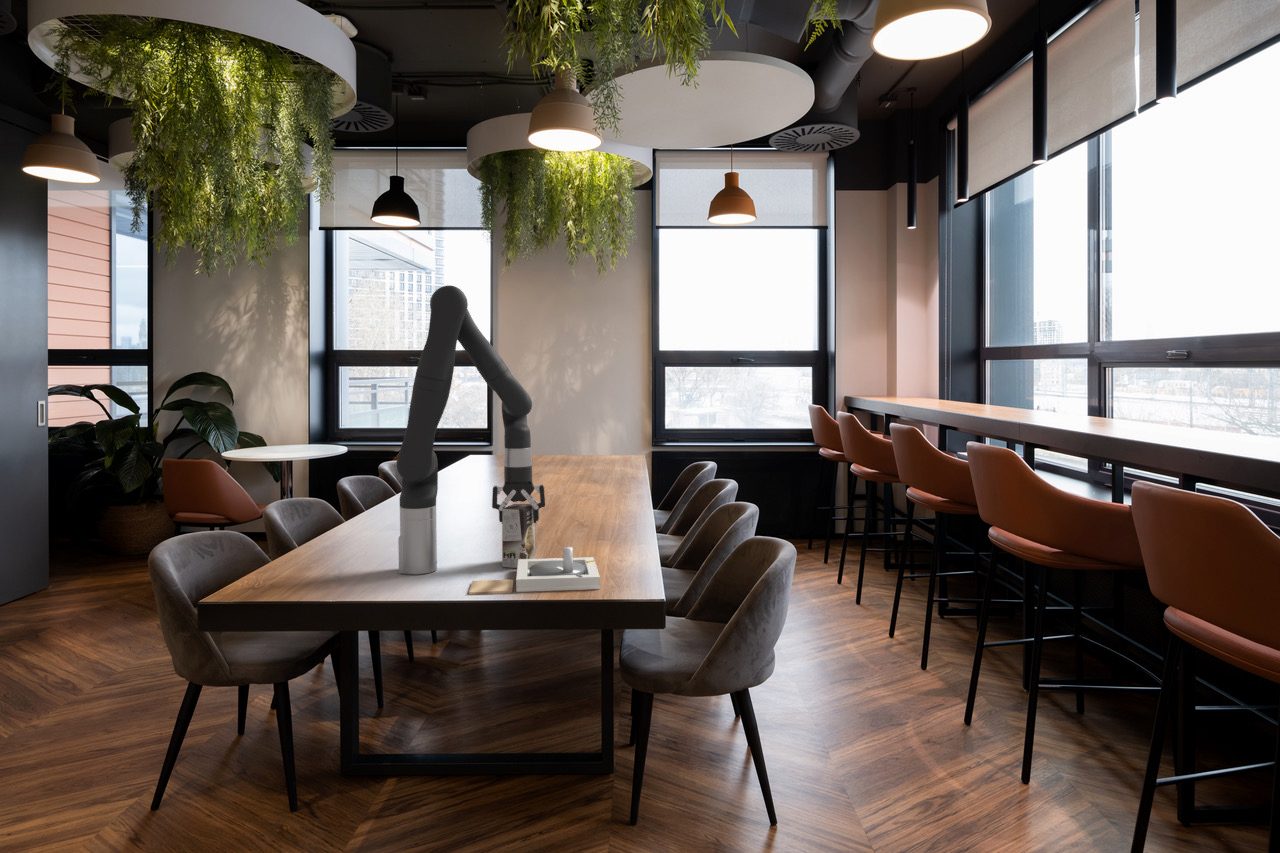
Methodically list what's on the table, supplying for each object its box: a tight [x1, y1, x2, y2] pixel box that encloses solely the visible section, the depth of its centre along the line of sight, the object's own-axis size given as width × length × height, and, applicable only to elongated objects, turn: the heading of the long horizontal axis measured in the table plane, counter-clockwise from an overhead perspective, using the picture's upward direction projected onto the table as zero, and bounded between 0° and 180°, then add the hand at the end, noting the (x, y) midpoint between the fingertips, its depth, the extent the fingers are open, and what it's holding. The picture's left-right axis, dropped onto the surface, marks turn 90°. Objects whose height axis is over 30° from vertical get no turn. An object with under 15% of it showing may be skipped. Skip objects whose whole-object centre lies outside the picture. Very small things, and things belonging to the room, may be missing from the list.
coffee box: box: [501, 503, 536, 569], centre depth 202 cm, size 9×6×16 cm
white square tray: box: [515, 556, 601, 593], centre depth 187 cm, size 20×20×3 cm
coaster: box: [468, 579, 514, 596], centre depth 179 cm, size 10×10×1 cm
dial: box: [529, 546, 585, 576], centre depth 187 cm, size 14×14×8 cm
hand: (519, 523), depth 202 cm, fingers open, 8 cm apart
